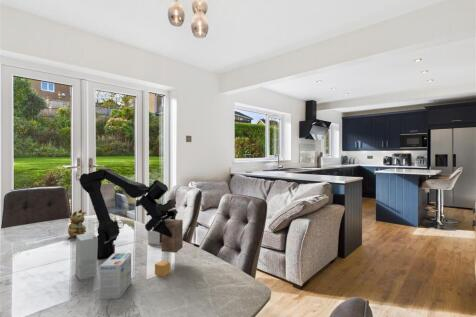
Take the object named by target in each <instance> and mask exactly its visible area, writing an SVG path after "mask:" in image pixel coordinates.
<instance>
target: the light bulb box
mask: <svg viewBox="0 0 476 317" xmlns="http://www.w3.org/2000/svg"><path fill="white" fill-rule="evenodd" d="M131 283H132V252H126V253H125V252H123V253H115V254H112V255H111V256H110V257H109V258H106V260H105V261H103V263H102V264H100V265H99V299H100V300H104V299H105V300H106V299H107V300H108V299H110V300H111V299H121V297H122V296H123V295H124V293H125V292H126V290H127V289H128V288H129V286H131Z"/></svg>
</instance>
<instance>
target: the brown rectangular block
mask: <svg viewBox="0 0 476 317" xmlns="http://www.w3.org/2000/svg"><path fill="white" fill-rule="evenodd" d="M183 224H184V223H183V219H176V218H175V219H168V220H166V221H165V225H166V227H167V228H168V229H169V231H170V232H171V234H172V237H168V236H166V235H164V234H162V244H161V252H163V253H173V254H175V253H177V252H178V251H180V250H181V249H183V244H184V243H183V240H184V239H183V236H184V234H183V231H184V230H183V228H184V227H183V226H184V225H183Z"/></svg>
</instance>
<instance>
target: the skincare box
mask: <svg viewBox="0 0 476 317" xmlns="http://www.w3.org/2000/svg"><path fill="white" fill-rule="evenodd" d="M76 236H77V237H76V244H75V266H74V267H75V270H74V272H75V274H76V276H77V277H78V279H79V280H80V281H81V280H85V279H90V278H93V277H97V275H98V274H97V272H98V259H97V250H98V238H97V236H96V234H94V233H93V232H90V233H89V232H88V233H87V232H86V233H84V234H81V235H76Z"/></svg>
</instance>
